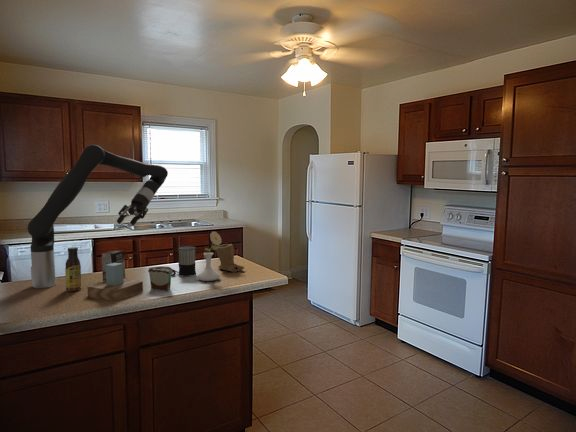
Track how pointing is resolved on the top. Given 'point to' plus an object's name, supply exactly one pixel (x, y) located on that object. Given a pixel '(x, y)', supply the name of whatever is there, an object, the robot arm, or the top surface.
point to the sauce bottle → (73, 270)
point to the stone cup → (227, 258)
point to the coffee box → (112, 260)
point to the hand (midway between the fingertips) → (124, 223)
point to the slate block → (114, 274)
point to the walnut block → (115, 290)
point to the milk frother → (186, 261)
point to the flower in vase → (208, 272)
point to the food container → (160, 278)
